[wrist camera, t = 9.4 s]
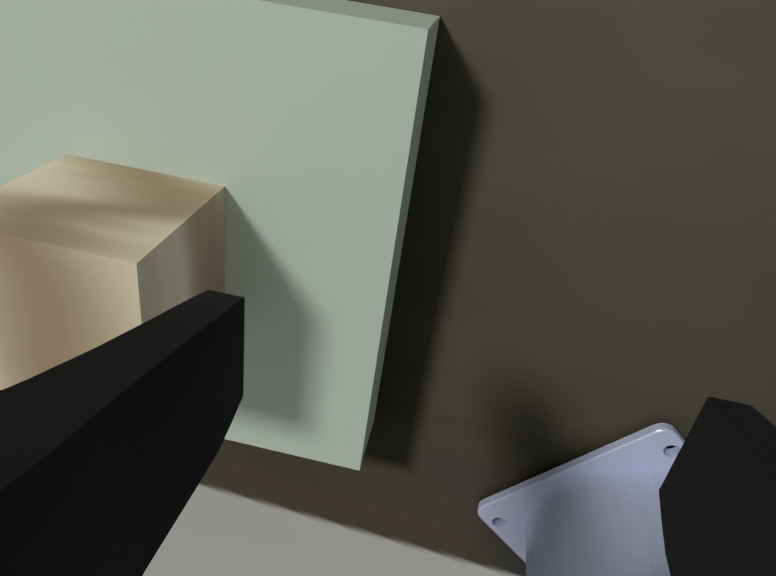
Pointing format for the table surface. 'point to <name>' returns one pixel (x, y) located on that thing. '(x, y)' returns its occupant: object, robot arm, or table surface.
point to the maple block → (99, 256)
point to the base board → (251, 169)
